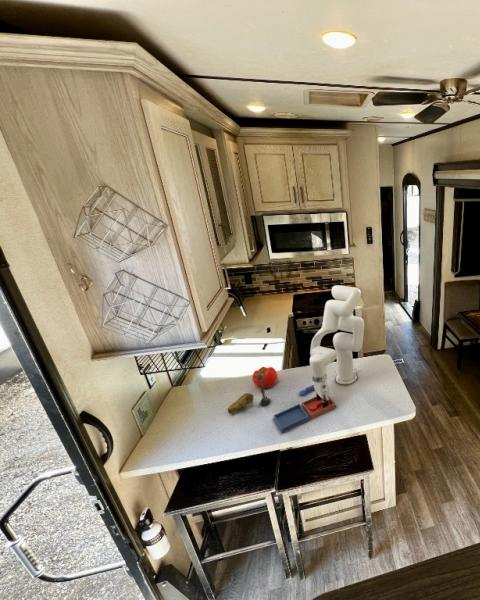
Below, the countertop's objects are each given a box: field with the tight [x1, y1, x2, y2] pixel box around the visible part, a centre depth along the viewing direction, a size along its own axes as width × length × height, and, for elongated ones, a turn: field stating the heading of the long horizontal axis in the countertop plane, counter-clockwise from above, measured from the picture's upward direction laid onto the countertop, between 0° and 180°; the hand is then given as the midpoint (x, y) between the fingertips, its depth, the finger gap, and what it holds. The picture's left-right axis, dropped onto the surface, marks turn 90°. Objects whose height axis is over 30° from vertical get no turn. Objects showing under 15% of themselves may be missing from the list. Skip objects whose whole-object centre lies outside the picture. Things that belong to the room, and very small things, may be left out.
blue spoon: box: [299, 384, 315, 397], centre depth 191 cm, size 10×4×2 cm, turn 128°
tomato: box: [251, 366, 278, 389], centre depth 196 cm, size 14×13×10 cm
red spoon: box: [310, 399, 325, 411], centre depth 179 cm, size 10×4×2 cm, turn 128°
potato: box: [227, 392, 254, 414], centre depth 178 cm, size 8×13×8 cm, turn 109°
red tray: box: [301, 395, 337, 420], centre depth 179 cm, size 14×12×3 cm
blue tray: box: [273, 403, 310, 434], centre depth 171 cm, size 14×12×3 cm
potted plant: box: [252, 373, 271, 407], centre depth 179 cm, size 6×5×20 cm
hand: (322, 402), depth 181 cm, fingers open, 6 cm apart
